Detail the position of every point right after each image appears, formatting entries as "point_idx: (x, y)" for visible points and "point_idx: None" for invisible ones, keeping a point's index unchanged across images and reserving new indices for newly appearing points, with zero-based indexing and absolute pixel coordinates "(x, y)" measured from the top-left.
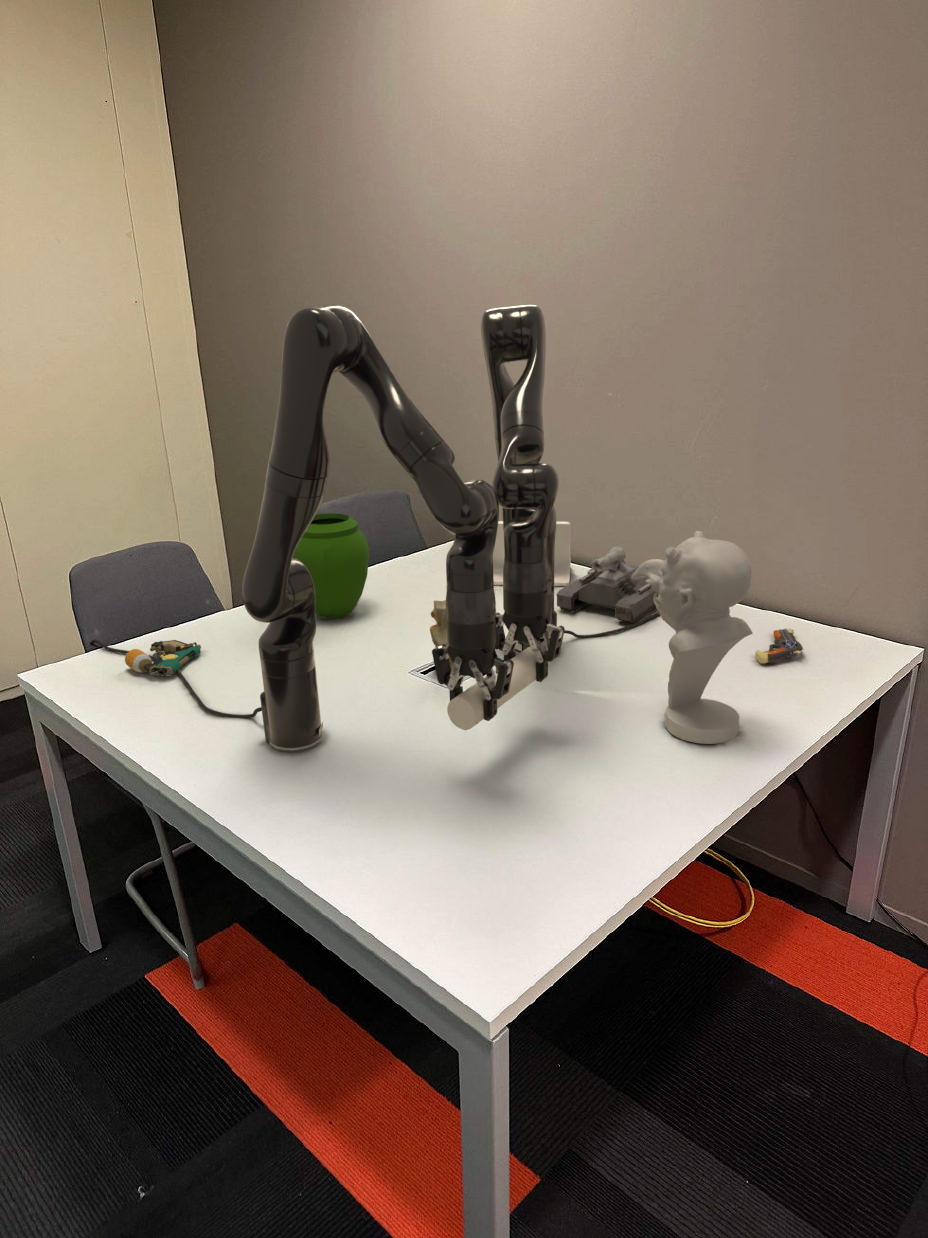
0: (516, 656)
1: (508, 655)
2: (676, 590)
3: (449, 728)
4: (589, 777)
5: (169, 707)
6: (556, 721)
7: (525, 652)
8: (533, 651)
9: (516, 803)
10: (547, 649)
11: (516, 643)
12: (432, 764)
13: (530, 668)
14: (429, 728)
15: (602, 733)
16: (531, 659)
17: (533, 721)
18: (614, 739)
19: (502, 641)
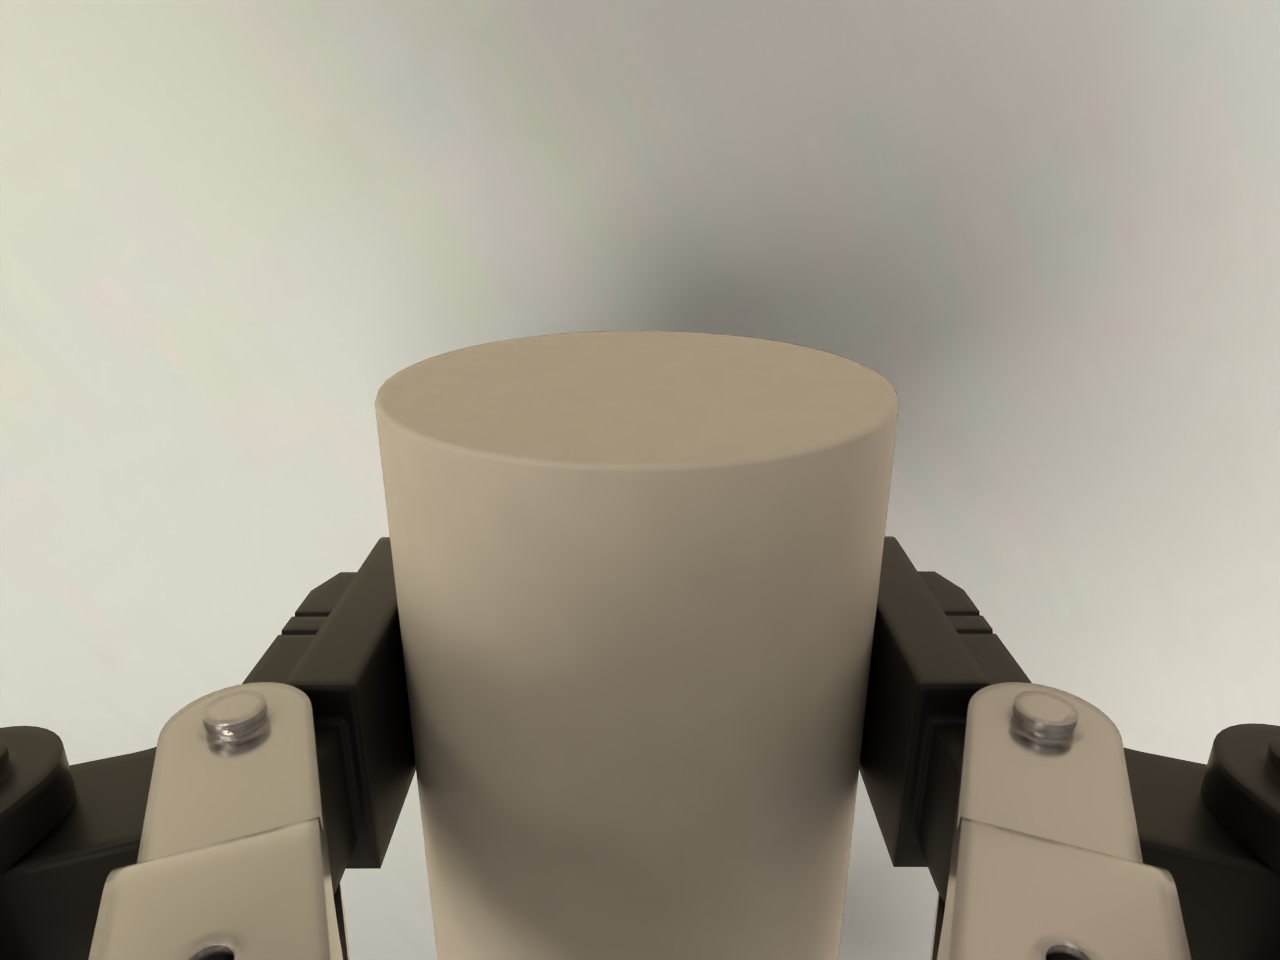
0: (541, 935)
1: (353, 857)
2: None
3: (160, 537)
4: (1178, 610)
5: None
6: (724, 54)
7: (604, 787)
8: (707, 665)
9: (913, 937)
10: (1127, 826)
11: (324, 830)
12: (376, 870)
13: (837, 909)
14: (64, 596)
15: (1121, 51)
16: (793, 850)
17: (570, 153)
18: (1230, 95)
19: (21, 923)
